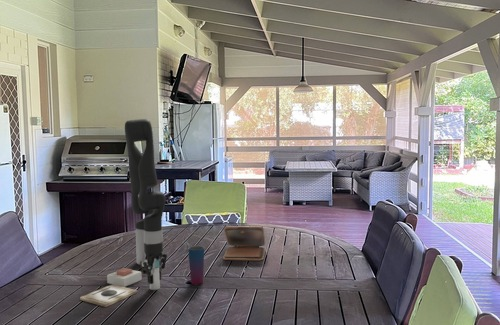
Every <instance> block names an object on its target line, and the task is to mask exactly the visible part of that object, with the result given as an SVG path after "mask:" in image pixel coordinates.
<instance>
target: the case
mask: <svg viewBox="0 0 500 325" xmlns="http://www.w3.org/2000/svg"><path fill="white" fill-rule="evenodd" d="M223 231H224V236H225V239H226V242H227V245H228V246H229V245H230V246H231V247H228V248H226V250H225V253H224V255H223V257H222V260H224V261H238V262H239V261H244V262H245V261H246V262H248V261H249V262H250V261H251V262H259V261H263V260H264V258H265V253H266V249H265V248H264V247H263V246H265V245H266V236H265V234H266V233H265V228H264V227H262V226H260V225H259V226H253V225H251V226H243V225H241V226H237V225H236V226H225V227H223Z"/></svg>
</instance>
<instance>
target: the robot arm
mask: <svg viewBox="0 0 500 325" xmlns="http://www.w3.org/2000/svg"><path fill="white" fill-rule="evenodd" d="M124 134H125V142H126V147H127V157H128V171H129V172H128V173H129V180H130V187H131V188H130V192H131V193H130V194H131V195H130V196H131V198H130V199H131V202H130V203H131V210H132V213H133V214H135V215H142V214H143V215H145V216H144V217H143V218H142V219H139V220H138V221H137V220H136V222H135V223H134V224H135V251H136V255H135V256H136V264H137V265H139V266H140V267H141V270H142V271H141V272H142V274H143V275H146V276H147V283H148V284H149V285H150V284H153V270H154V269H155V262H156V260H159V278H160V281H161V280H162V271H163V270H164V269H165V268H166V264H167V263H166V262H167V258H168V254H166V253H163V251H164V243H163V242H164V241H163V239H164V237H163V227H162V223H163V222H162V219H163V215H164V214H163V213H164V210H165V205H166V195H165V193H163V191H148V190H149V189H152V188H154V187H155V188H156V187H157V185H158V176H157V175H158V174H157V172H156V163H155V147H154V136H153V135H154V134H153V126H152V122H151V120H149V119H148V118H140V119H130V120H127V121H126V122H125V123H124ZM136 142H145V149H144V152H143V153H142V152H141V150H140V149H139V148H138V146H137V145H136V144H135V143H136ZM149 266H152V267H149ZM150 269H151V270H150ZM149 271H150V272H149Z"/></svg>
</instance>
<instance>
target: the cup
mask: <svg viewBox="0 0 500 325" xmlns="http://www.w3.org/2000/svg"><path fill="white" fill-rule="evenodd" d="M187 250H188V251H187V252H188V262H189V263H188V264H189V274H190V284H191V285H202V284H203V283H204V269H205V268H204V266H205V263H204V262H205V246H203V245H192V246H189V247H188V248H187Z"/></svg>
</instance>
